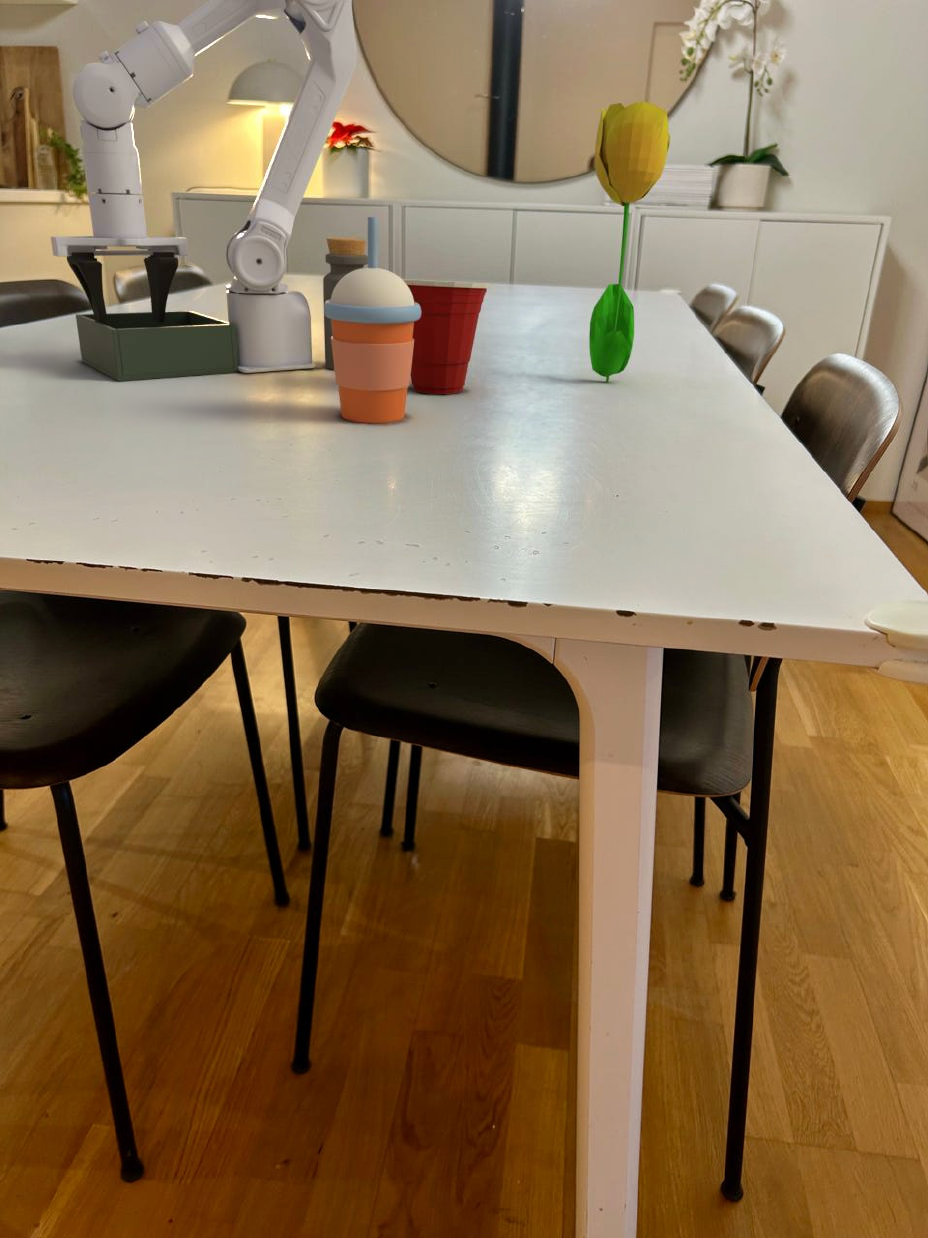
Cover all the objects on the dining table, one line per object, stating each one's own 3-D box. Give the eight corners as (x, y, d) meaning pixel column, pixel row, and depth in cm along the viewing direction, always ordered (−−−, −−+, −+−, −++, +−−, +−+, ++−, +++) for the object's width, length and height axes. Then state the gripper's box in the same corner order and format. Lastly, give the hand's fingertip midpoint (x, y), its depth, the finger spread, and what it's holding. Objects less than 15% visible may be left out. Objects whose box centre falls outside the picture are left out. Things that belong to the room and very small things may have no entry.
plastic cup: (488, 383, 107) (494, 276, 102) (481, 401, 98) (486, 283, 93) (398, 378, 108) (399, 271, 103) (382, 395, 98) (382, 278, 93)
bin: (194, 354, 118) (190, 310, 116) (238, 372, 108) (235, 324, 106) (81, 361, 110) (75, 314, 108) (118, 381, 100) (111, 329, 98)
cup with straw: (405, 431, 84) (408, 219, 76) (312, 422, 85) (306, 214, 78) (428, 411, 92) (433, 218, 84) (343, 404, 94) (340, 214, 86)
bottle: (349, 372, 110) (347, 239, 104) (315, 366, 114) (311, 237, 107) (381, 367, 115) (381, 239, 108) (347, 361, 118) (345, 236, 111)
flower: (645, 390, 107) (681, 101, 95) (577, 387, 107) (604, 97, 95) (634, 377, 115) (666, 108, 103) (571, 374, 115) (595, 105, 103)
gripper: (55, 192, 93) (75, 330, 98) (192, 196, 101) (203, 323, 106) (38, 191, 98) (58, 322, 104) (170, 195, 106) (182, 316, 111)
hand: (130, 322), depth 105 cm, fingers open, 6 cm apart
